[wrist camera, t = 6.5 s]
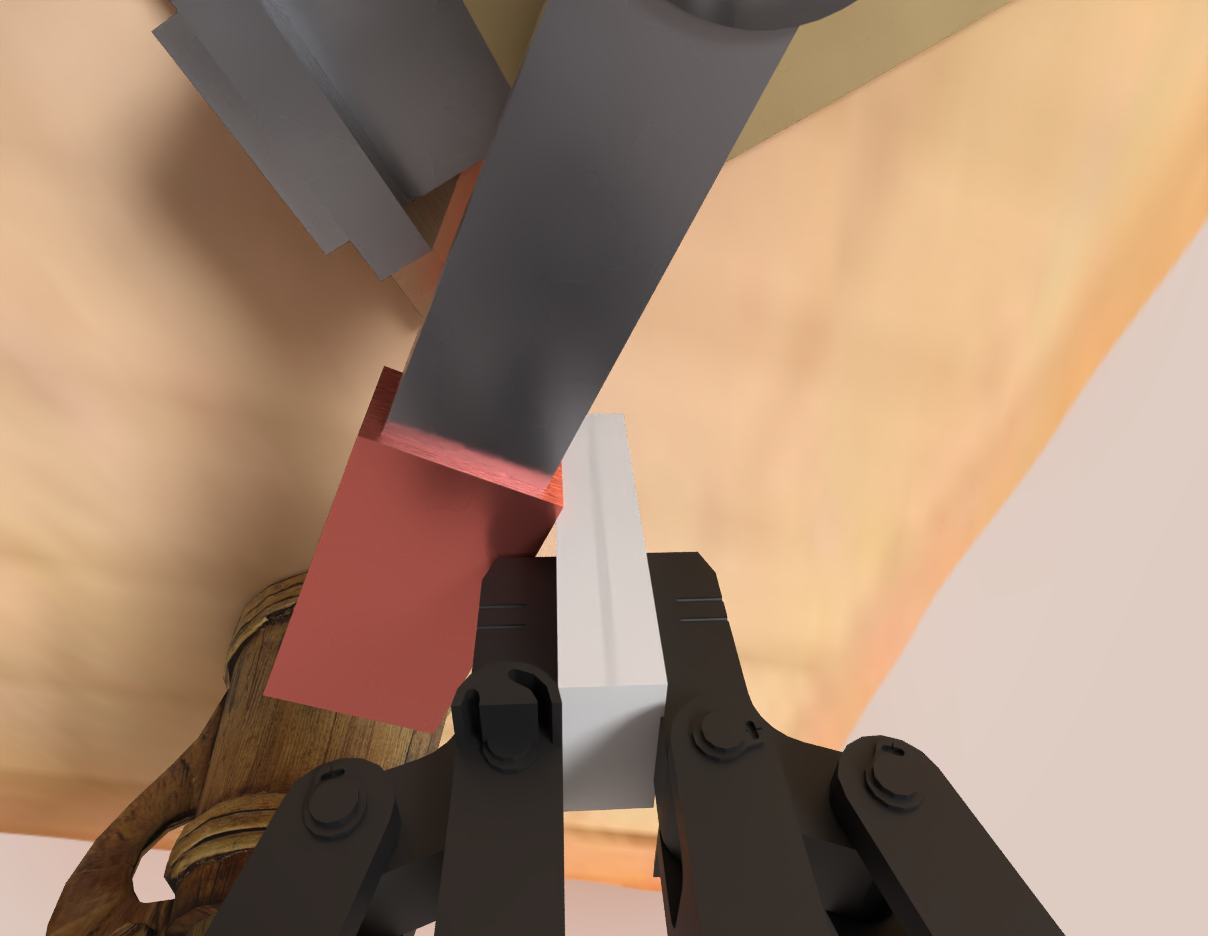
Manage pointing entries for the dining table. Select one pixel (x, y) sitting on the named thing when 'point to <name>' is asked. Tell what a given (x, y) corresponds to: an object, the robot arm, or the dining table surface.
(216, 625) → the dining table surface
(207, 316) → the dining table surface
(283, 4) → the valve body
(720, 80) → the lever
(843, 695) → the dining table surface
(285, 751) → the wooden mug
